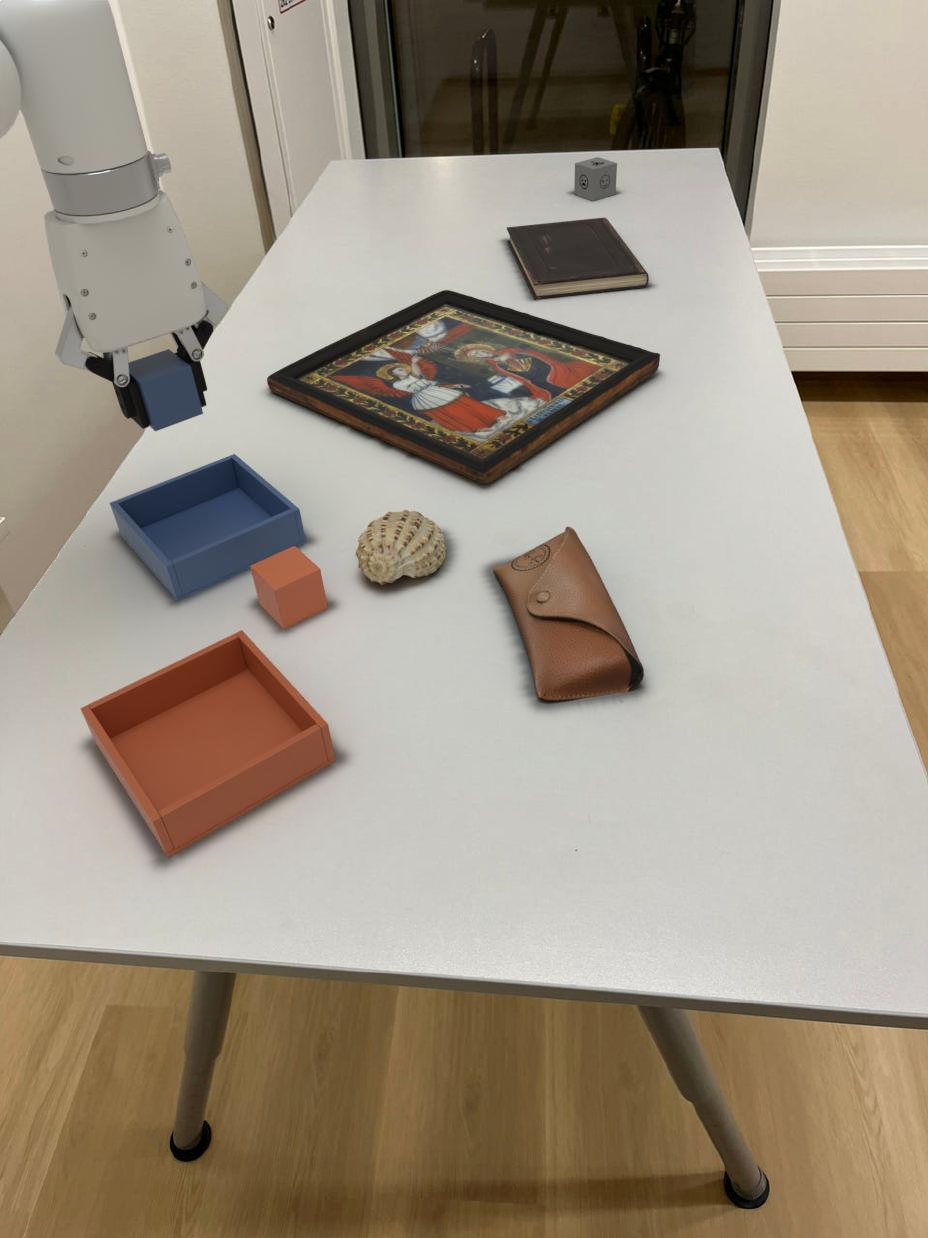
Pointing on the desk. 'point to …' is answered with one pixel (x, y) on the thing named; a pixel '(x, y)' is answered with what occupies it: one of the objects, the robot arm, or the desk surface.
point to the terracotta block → (289, 587)
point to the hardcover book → (575, 258)
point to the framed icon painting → (465, 381)
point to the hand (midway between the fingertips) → (167, 409)
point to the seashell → (400, 547)
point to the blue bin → (207, 525)
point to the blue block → (166, 389)
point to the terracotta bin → (208, 739)
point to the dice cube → (595, 178)
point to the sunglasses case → (569, 622)
